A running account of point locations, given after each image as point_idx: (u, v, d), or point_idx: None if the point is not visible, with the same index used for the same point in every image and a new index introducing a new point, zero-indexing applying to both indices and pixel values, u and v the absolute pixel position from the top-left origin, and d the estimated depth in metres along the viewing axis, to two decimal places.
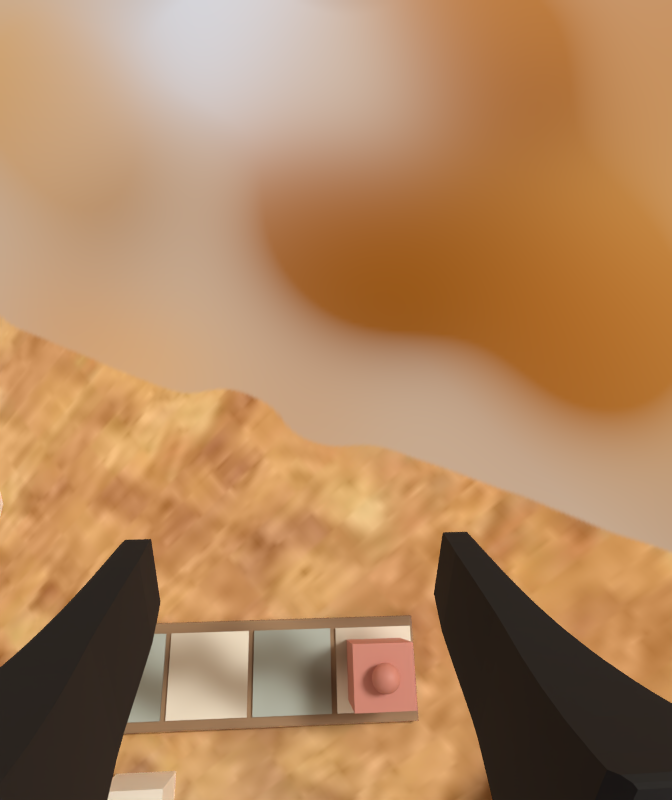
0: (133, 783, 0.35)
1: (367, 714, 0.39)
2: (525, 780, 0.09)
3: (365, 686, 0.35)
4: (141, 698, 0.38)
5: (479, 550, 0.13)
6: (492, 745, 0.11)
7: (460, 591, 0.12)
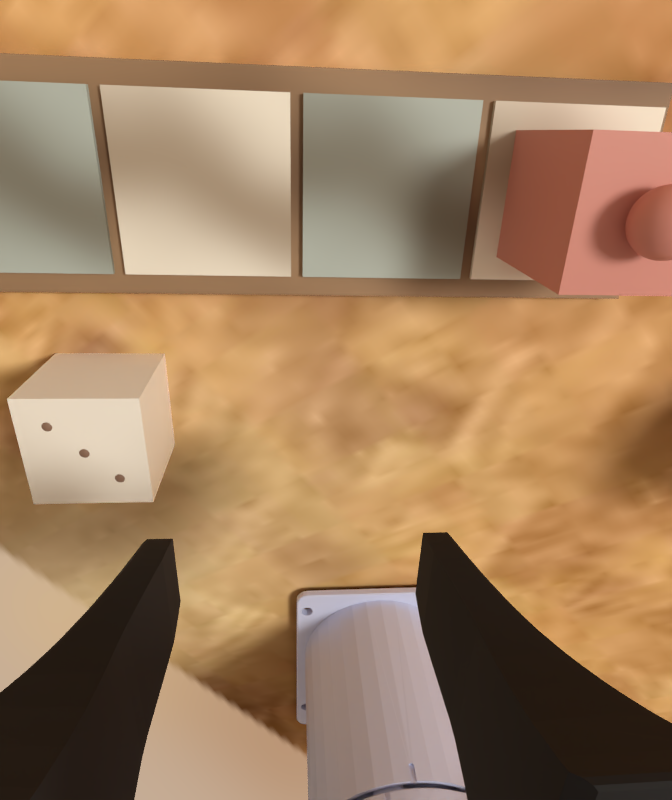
0: (83, 379, 0.18)
1: (526, 283, 0.20)
2: (496, 782, 0.09)
3: (598, 238, 0.14)
4: (64, 228, 0.18)
5: (458, 551, 0.12)
6: (467, 746, 0.11)
7: (438, 592, 0.12)
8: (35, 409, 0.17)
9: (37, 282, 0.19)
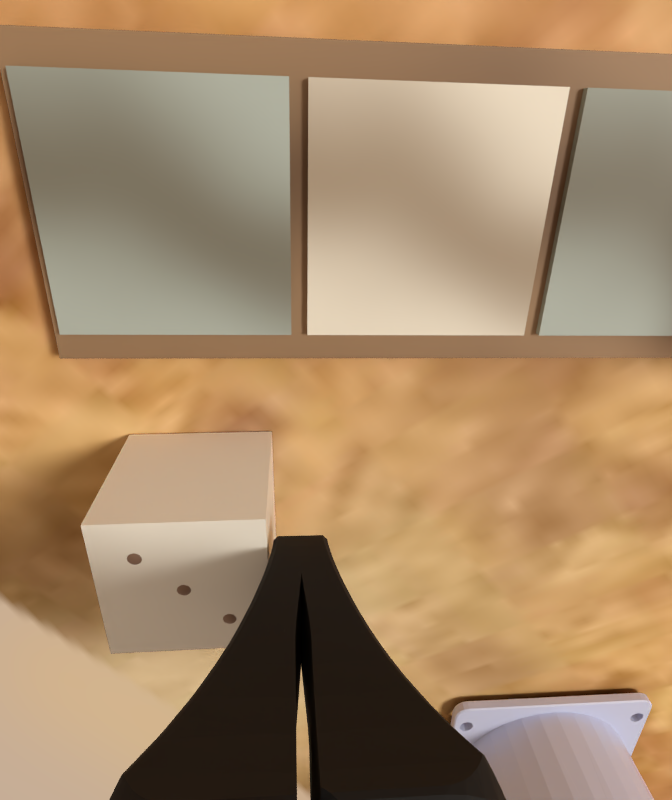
0: (177, 483, 0.13)
1: None
2: (314, 793, 0.09)
3: None
4: (233, 276, 0.13)
5: (324, 554, 0.12)
6: (310, 755, 0.10)
7: (301, 596, 0.12)
8: (119, 537, 0.12)
9: (187, 346, 0.14)
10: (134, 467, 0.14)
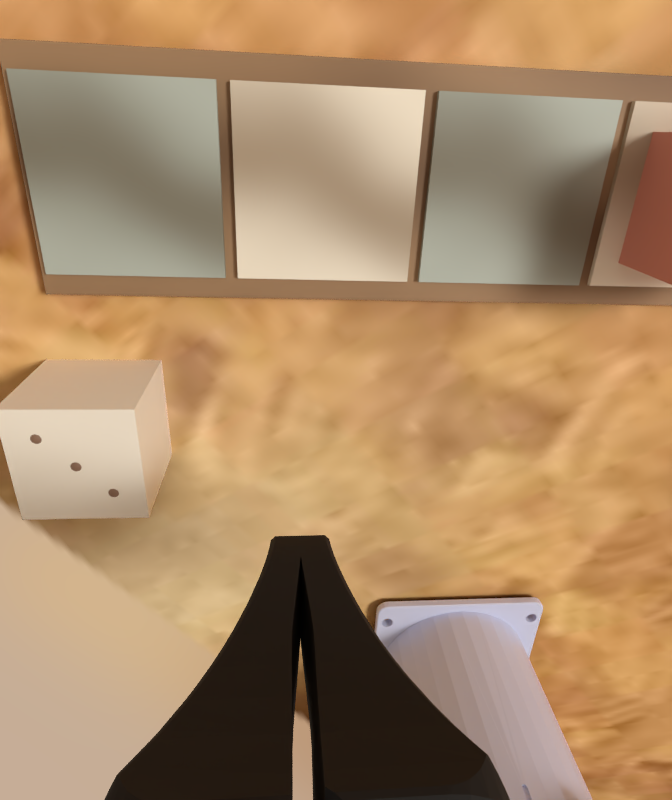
0: (75, 388, 0.17)
1: (644, 290, 0.19)
2: (317, 793, 0.09)
3: None
4: (179, 230, 0.17)
5: (326, 554, 0.12)
6: (313, 755, 0.10)
7: (303, 596, 0.12)
8: (23, 420, 0.16)
9: (145, 285, 0.18)
10: (44, 378, 0.18)
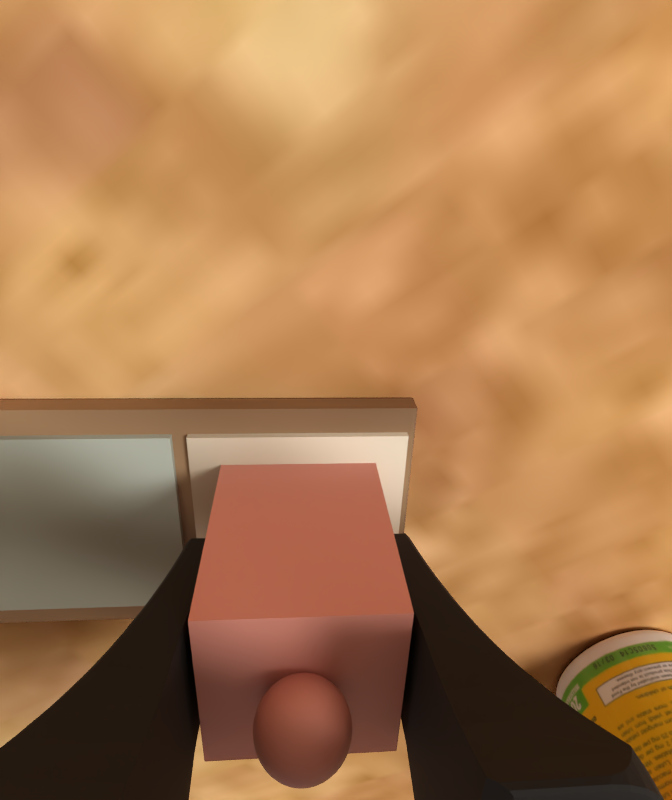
0: None
1: None
2: (435, 785, 0.09)
3: (237, 712, 0.11)
4: None
5: (413, 552, 0.12)
6: (415, 749, 0.11)
7: None
8: None
9: None
10: None
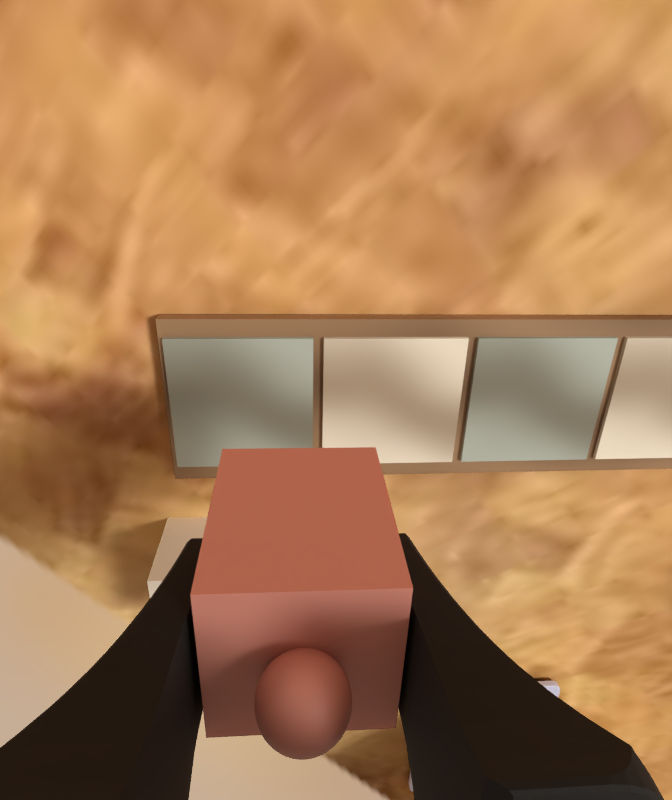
0: None
1: (638, 459, 0.24)
2: (435, 785, 0.09)
3: (238, 688, 0.11)
4: (279, 435, 0.22)
5: (413, 552, 0.12)
6: (415, 749, 0.11)
7: None
8: None
9: None
10: (173, 541, 0.23)
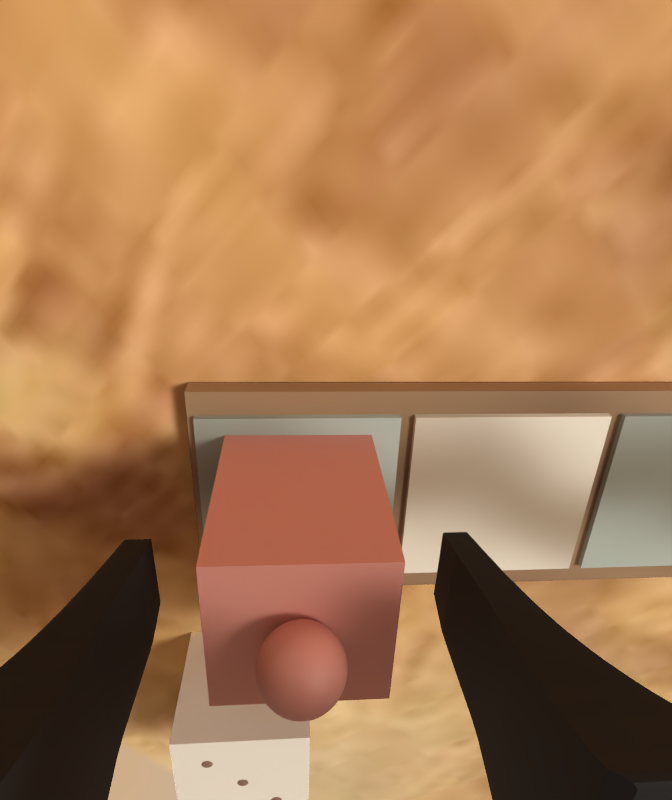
0: None
1: None
2: (525, 780, 0.09)
3: (240, 657, 0.11)
4: None
5: (479, 550, 0.13)
6: (492, 745, 0.11)
7: (460, 591, 0.12)
8: (197, 751, 0.16)
9: None
10: (201, 673, 0.18)
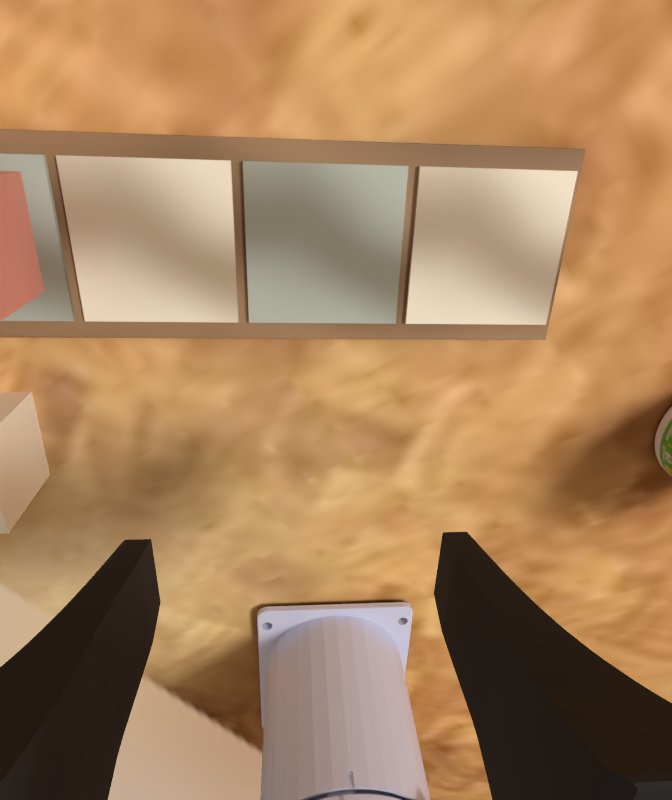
0: None
1: (458, 326, 0.22)
2: (525, 780, 0.09)
3: None
4: None
5: (479, 550, 0.13)
6: (492, 745, 0.11)
7: (460, 591, 0.12)
8: None
9: (3, 328, 0.20)
10: None
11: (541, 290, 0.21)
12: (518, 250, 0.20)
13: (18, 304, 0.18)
